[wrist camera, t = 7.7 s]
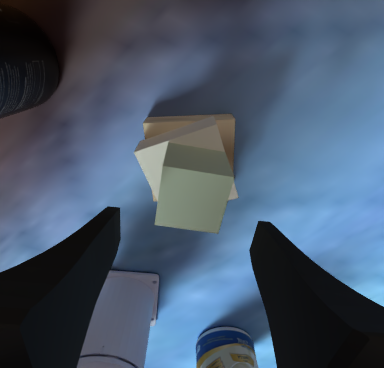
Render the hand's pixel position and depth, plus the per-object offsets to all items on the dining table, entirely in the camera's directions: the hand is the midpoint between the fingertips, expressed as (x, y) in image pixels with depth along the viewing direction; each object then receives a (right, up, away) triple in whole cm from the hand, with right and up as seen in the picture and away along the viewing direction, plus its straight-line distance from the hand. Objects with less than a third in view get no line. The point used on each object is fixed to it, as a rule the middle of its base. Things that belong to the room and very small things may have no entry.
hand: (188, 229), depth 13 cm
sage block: (0, +3, +5) cm, 6 cm away
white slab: (0, +4, +7) cm, 8 cm away
